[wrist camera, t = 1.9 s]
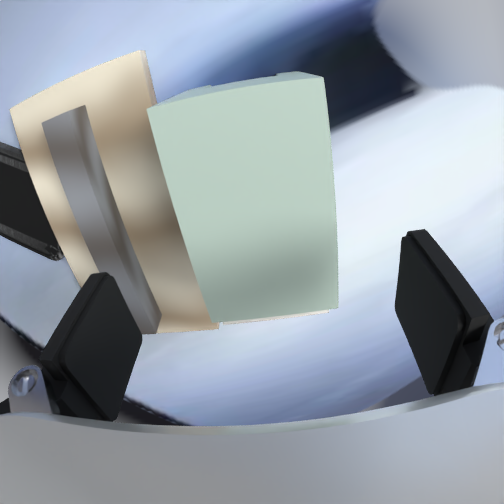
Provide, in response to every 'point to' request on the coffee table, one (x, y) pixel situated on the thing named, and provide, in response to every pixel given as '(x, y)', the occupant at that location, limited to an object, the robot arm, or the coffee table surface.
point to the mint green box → (254, 194)
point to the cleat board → (112, 190)
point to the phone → (23, 207)
